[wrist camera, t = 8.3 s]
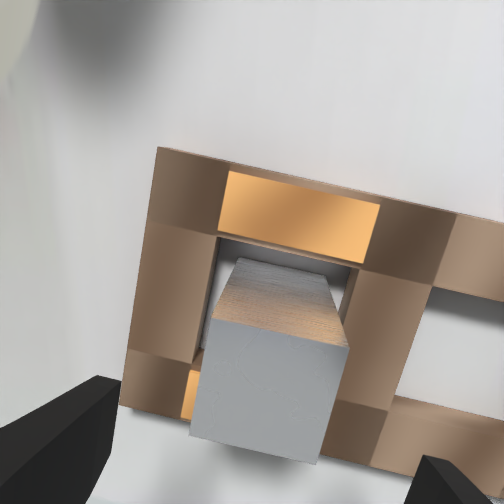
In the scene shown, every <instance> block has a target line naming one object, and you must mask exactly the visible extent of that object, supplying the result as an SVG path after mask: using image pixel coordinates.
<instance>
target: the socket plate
mask: <svg viewBox="0 0 504 504" xmlns="http://www.w3.org/2000/svg"><path fill="white" fill-rule="evenodd" d="M221 237H222V238H227V239H231V240H235V241H240V242H244V243H248V244H253V245H257V246H261V247H266V248H270V249H274V250H279V251H283V252H287V253H292V254H296V255H300V256H305V257H309V258H313V259H318V260H322V261H326V262H331V263H335V264H339V265H344V266H348V267H351V271H350V274H349V277H348V281H347V284H346V288H345V291H344V294H343V298H342V301H341V305H340V308H339V312H338V315H339V318H340V321H341V324H342V327H343V330H344V333H345V336H346V339H347V341H348V344H349V347H350V349H349V353H348V356H347V360H346V363H345V367H344V370H343V374H342V377H341V380H340V384H339V387H338V391H337V394H336V398H335V401H334V405H333V408H332V411H331V415H330V418H329V422H328V425H327V429H326V432H325V436H324V439H323V443H322V446H321V449H320V453H319V454H321V455H325V456H330V457H334V458H338V459H342V460H346V461H350V462H354V463H358V464H362V465H366V466H370V467H375V468H379V469H383V470H387V471H391V472H395V473H399V474H403V475H407V476H411V477H414V476H415V473H416V471H417V468H418V466H419V463H420V460H421V458H422V455H423V454H424V455H428V456H432V457H436V458H441V459H445V460H449V461H450V462H451V463H452V464H454V465H455V466H456V467H457V468H458V469H459V470H460V471H461V472H462V473H463V474H464V475H465V476H466V477H467V478H468V479H469V480H470V481H471V482H472V483H473V484H474V485H475V486H476V487H477V488H478V489H479V490H480V491H481V492H482V493H483V494H485V495H489V496H493V497H497V498H501V499H504V421H501V420H497V419H493V418H489V417H485V416H481V415H476V414H472V413H468V412H464V411H460V410H455V409H451V408H447V407H443V406H439V405H434V404H430V403H426V402H422V401H418V400H414V399H409V398H405V397H401V396H397V395H394V394H395V391H396V389H397V386H398V383H399V380H400V377H401V374H402V371H403V369H404V366H405V363H406V360H407V357H408V354H409V351H410V349H411V346H412V343H413V340H414V337H415V334H416V331H417V329H418V326H419V323H420V320H421V317H422V314H423V311H424V309H425V306H426V303H427V300H428V297H429V294H430V292H431V289H432V286H435V287H439V288H444V289H448V290H452V291H457V292H461V293H465V294H470V295H474V296H478V297H483V298H487V299H491V300H496V301H500V302H504V223H501V222H497V221H493V220H488V219H484V218H479V217H475V216H470V215H466V214H461V213H457V212H453V211H448V210H444V209H439V208H435V207H430V206H426V205H421V204H417V203H412V202H408V201H404V200H399V199H395V198H390V197H386V196H381V195H377V194H372V193H368V192H363V191H359V190H355V189H350V188H346V187H341V186H337V185H332V184H328V183H323V182H319V181H314V180H310V179H306V178H301V177H297V176H292V175H288V174H283V173H279V172H274V171H270V170H265V169H261V168H257V167H252V166H248V165H243V164H239V163H234V162H230V161H225V160H221V159H216V158H212V157H208V156H203V155H199V154H194V153H190V152H185V151H181V150H176V149H172V148H166V147H157V154H156V160H155V167H154V173H153V180H152V187H151V193H150V200H149V207H148V213H147V220H146V227H145V233H144V240H143V247H142V253H141V260H140V266H139V273H138V280H137V286H136V293H135V300H134V306H133V313H132V320H131V326H130V333H129V340H128V346H127V353H126V359H125V366H124V373H123V379H122V386H121V393H120V399H119V405H121V406H125V407H129V408H133V409H137V410H141V411H145V412H150V413H154V414H158V415H162V416H166V417H170V418H174V419H178V420H182V421H186V422H190V423H191V419H192V414H193V409H194V403H195V398H196V393H197V387H198V382H199V377H200V372H201V366H202V361H203V356H204V349H200V348H199V344H200V339H201V334H202V329H203V324H204V319H205V314H206V309H207V304H208V299H209V294H210V289H211V284H212V280H213V275H214V270H215V265H216V260H217V255H218V250H219V245H220V240H221Z"/></svg>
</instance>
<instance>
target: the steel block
mask: <svg viewBox="0 0 504 504" xmlns="http://www.w3.org/2000/svg"><path fill="white" fill-rule="evenodd" d="M349 349H350V347H349V344H348V341H347V339H346V336H345V333H344V330H343V327H342V324H341V321H340V318H339V315H338V312H337V309H336V306H335V303H334V300H333V298H332V295H331V292H330V289H329V286H328V283H327V280H326V277H325V276H324V275H320V274H315V273H311V272H306V271H301V270H297V269H292V268H287V267H283V266H278V265H274V264H269V263H264V262H260V261H255V260H250V259H246V258H241V257H239V258H238V260H237V262H236V264H235V266H234V269H233V271H232V273H231V275H230V277H229V279H228V281H227V284H226V286H225V288H224V290H223V292H222V294H221V296H220V299H219V301H218V303H217V305H216V307H215V309H214V311H213V314H212V316H211V318H210V324H209V329H208V334H207V340H206V345H205V350H204V356H203V361H202V366H201V372H200V377H199V382H198V387H197V393H196V398H195V403H194V409H193V414H192V419H191V425H190V430H189V436H193V437H197V438H202V439H206V440H210V441H215V442H219V443H223V444H228V445H232V446H236V447H241V448H245V449H249V450H254V451H258V452H262V453H266V454H271V455H275V456H279V457H284V458H288V459H292V460H297V461H301V462H305V463H310V464H314V465H316V463H317V460H318V456H319V453H320V449H321V446H322V443H323V439H324V436H325V432H326V429H327V425H328V422H329V418H330V415H331V411H332V408H333V405H334V401H335V398H336V394H337V391H338V387H339V384H340V380H341V377H342V374H343V370H344V367H345V363H346V360H347V356H348V353H349Z"/></svg>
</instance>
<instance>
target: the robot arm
mask: <svg viewBox="0 0 504 504" xmlns="http://www.w3.org/2000/svg"><path fill="white" fill-rule="evenodd" d="M121 382H122V381H119V380H115V379H111V378H107V377H103V376H99V375H96V376H94V377H92V378H91V379H89V380H87V381H85V382H83V383H82V384H80V385H78V386H76V387H75V388H73V389H71V390H69V391H68V392H66V393H64V394H62V395H61V396H59V397H57V398H55V399H54V400H52V401H50V402H48V403H47V404H45V405H43V406H41V407H39V408H37V409H36V410H34V411H32V412H30V413H28V414H26V415H25V416H23V417H21V418H19V419H17V420H15V421H14V422H12V423H10V424H8V425H6V426H4V427H2V428H0V504H85V503H86V501H87V500H88V498H89V497H90V495H91V493H92V491H93V489H94V487H95V485H96V483H97V481H98V479H99V477H100V475H101V472H102V470H103V468H104V466H105V464H106V462H107V460H108V458H109V456H110V454H111V449H112V442H113V436H114V429H115V422H116V416H117V409H118V402H119V396H120V389H121ZM404 504H493V503H492V502H491V501H490V500H489V499H488V498H487V497H486V496H485V495H484V494H483V493H482V492H481V491H480V490H479V489H478V488H477V487H476V486H475V485H474V484H473V483H472V482H471V481H470V480H469V479H468V478H467V477H466V476H465V475H464V474H463V473H462V472H461V471H460V470H459V469H458V468H457V467H456V466H455V465H454V464H452V463H451V462H450V461H449V460H445V459H441V458H436V457H432V456H428V455H424V454H423V455H422V458H421V460H420V463H419V466H418V468H417V471H416V473H415V476H414V479H413V481H412V484H411V486H410V489H409V491H408V494H407V497H406V499H405V502H404Z"/></svg>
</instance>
